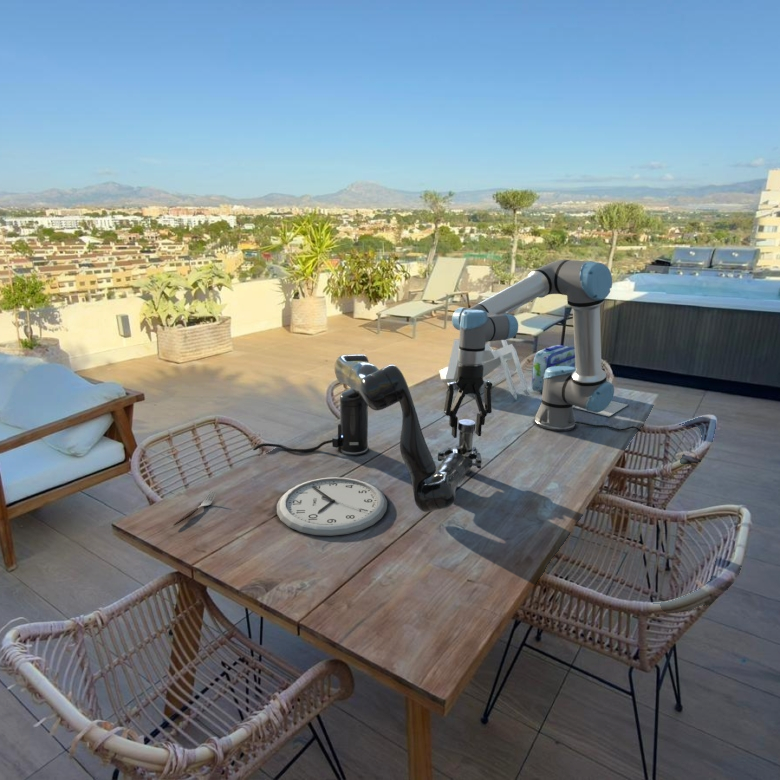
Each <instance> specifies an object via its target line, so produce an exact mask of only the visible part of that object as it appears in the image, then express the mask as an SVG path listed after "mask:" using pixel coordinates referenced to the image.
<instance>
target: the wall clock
mask: <svg viewBox="0 0 780 780" xmlns="http://www.w3.org/2000/svg"><path fill="white" fill-rule="evenodd" d="M387 509H388V500H387V498H386V496H385V494H384V493H383V492H382V491H381V490H380V489H379V488H377V487H376V486H374V485H372V484H371V483H369V482H365V481H362V480H359V479H355V478H349V477H338V476H337V477H335V476H333V477H332V476H331V477H322V478H317V479H312V480H307V481H305V482H302V483H299V484H297V485H295V486H293V487H292V488H290V489H288V490H287V491H286V492H285V493H284V494H283V495H281V496H280V498H279V499H278V502H277V503H276V515H277V517H278V518H279V520H280V521H281V522H282V523H283V524H285V525H286V526H287V527H288V528H290V529H293V530H295V531H297V532H299V533H303V534H308V535H312V536H327V537H328V536H329V537H331V536H332V537H333V536H342V535H350V534H352V533H356V532H361V531H363V530H366V529H368V528H369V527H372V526H373V525H375V524H376V523H378V522H379V521H380V520H381V519H382V518H383V517H384V516H385V514H386V512H387Z"/></svg>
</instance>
